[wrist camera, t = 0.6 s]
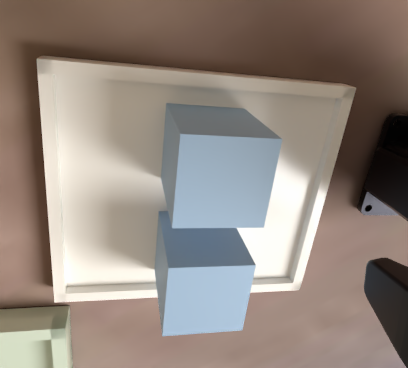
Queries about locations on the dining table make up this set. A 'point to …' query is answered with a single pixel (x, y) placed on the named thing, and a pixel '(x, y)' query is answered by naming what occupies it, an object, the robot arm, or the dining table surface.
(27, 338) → the tray
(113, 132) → the dish
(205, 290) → the block
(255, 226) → the block
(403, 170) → the robot arm
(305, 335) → the dining table surface
